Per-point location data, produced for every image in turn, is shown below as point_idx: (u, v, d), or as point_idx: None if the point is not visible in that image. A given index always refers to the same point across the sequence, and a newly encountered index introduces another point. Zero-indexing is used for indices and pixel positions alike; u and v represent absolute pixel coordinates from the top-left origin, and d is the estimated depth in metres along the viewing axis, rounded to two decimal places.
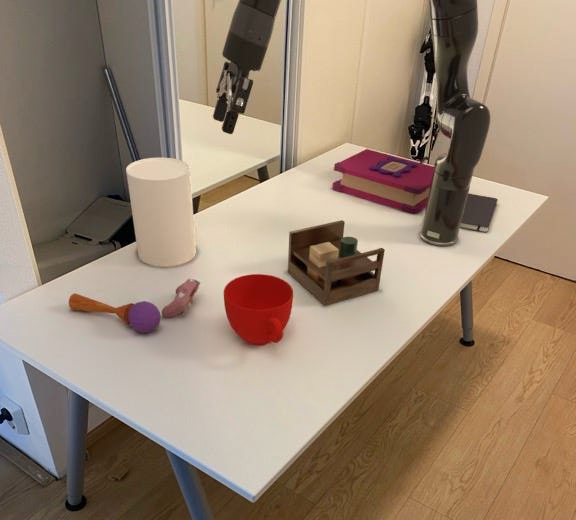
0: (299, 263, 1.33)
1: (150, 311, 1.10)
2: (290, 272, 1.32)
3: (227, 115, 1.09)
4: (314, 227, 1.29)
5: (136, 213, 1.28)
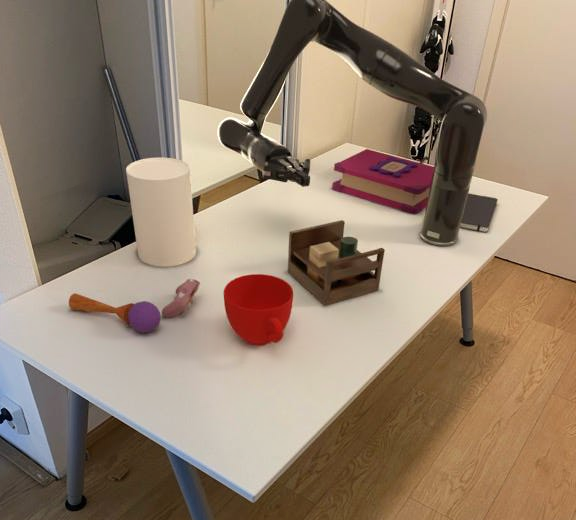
0: (299, 263, 1.33)
1: (150, 311, 1.10)
2: (290, 272, 1.32)
3: None
4: (314, 227, 1.29)
5: (136, 213, 1.28)
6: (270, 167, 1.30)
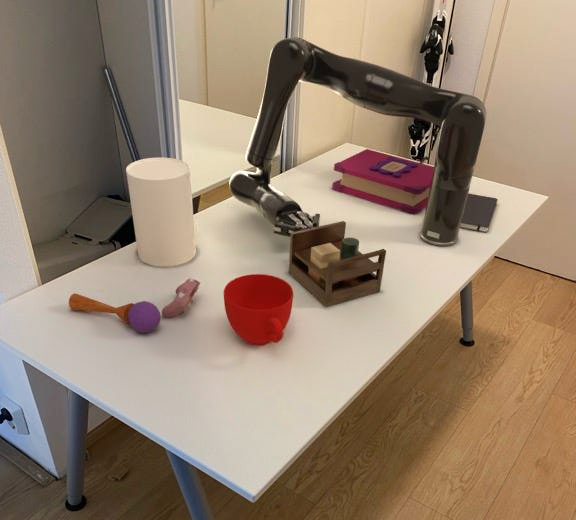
0: (300, 264, 1.32)
1: (150, 311, 1.10)
2: (291, 273, 1.32)
3: None
4: (315, 228, 1.29)
5: (136, 213, 1.28)
6: (281, 223, 1.34)
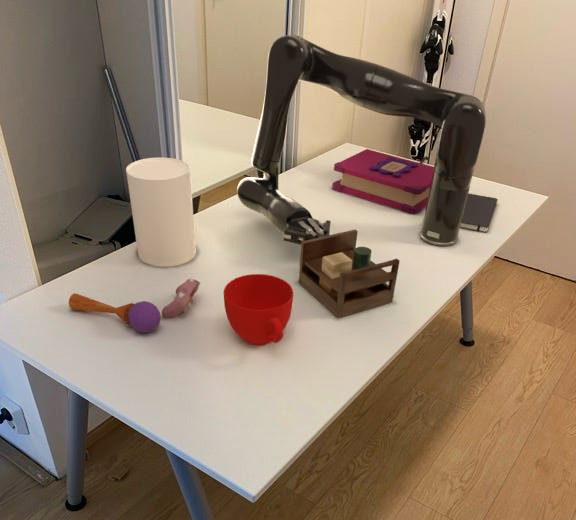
0: (311, 273, 1.29)
1: (150, 311, 1.10)
2: (301, 283, 1.29)
3: None
4: (326, 237, 1.26)
5: (136, 213, 1.28)
6: (291, 230, 1.31)
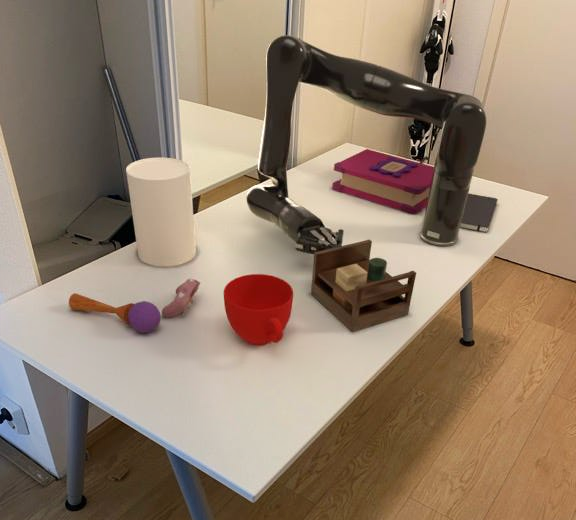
0: (323, 285, 1.26)
1: (150, 311, 1.10)
2: (314, 294, 1.25)
3: None
4: (340, 247, 1.22)
5: (136, 213, 1.28)
6: (303, 240, 1.27)
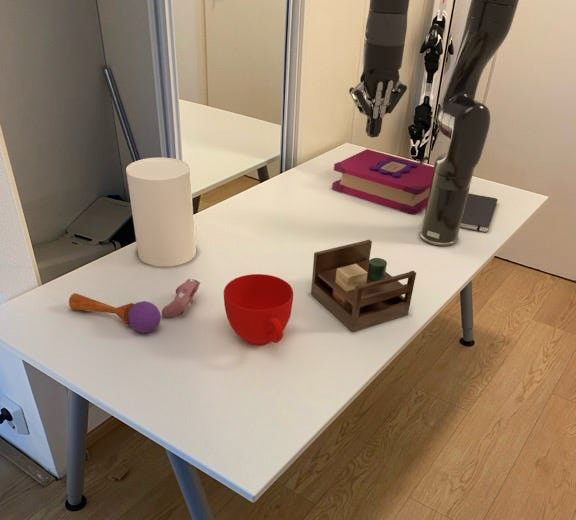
0: (323, 285, 1.26)
1: (150, 311, 1.10)
2: (314, 294, 1.25)
3: None
4: (340, 247, 1.22)
5: (136, 213, 1.28)
6: (361, 97, 1.12)
